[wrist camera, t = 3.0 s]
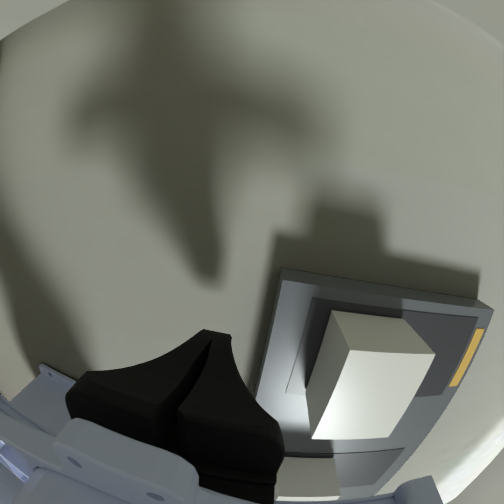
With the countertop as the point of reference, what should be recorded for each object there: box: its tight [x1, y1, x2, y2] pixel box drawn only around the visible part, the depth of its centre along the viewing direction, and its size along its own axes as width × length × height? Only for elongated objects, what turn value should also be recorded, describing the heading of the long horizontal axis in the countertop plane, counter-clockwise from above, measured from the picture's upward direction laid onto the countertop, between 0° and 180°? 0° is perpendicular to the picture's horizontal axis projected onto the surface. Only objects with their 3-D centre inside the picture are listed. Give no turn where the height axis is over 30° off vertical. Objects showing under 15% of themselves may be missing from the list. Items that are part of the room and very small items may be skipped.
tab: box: [305, 310, 435, 440], centre depth 11 cm, size 4×5×4 cm
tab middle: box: [274, 457, 341, 501], centre depth 14 cm, size 4×5×4 cm
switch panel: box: [253, 268, 494, 500], centre depth 16 cm, size 14×30×2 cm, turn 171°
